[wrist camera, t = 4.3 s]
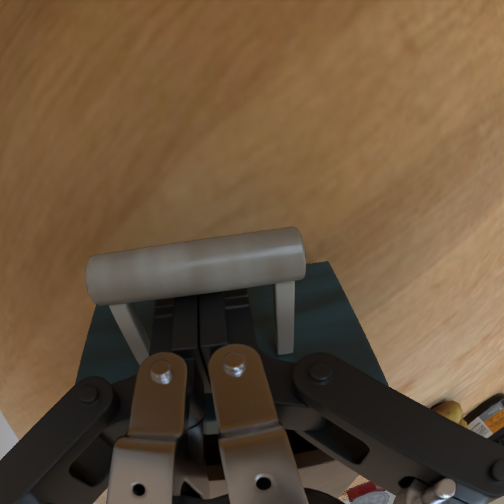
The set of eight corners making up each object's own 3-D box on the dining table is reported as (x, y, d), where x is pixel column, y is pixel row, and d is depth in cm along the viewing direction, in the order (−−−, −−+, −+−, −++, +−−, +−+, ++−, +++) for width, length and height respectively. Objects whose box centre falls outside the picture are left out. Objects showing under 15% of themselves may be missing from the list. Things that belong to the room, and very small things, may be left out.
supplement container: (461, 415, 40) (487, 470, 31) (509, 383, 38) (537, 434, 29) (457, 429, 46) (478, 476, 36) (499, 402, 44) (522, 446, 35)
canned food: (343, 478, 65) (333, 511, 57) (365, 468, 59) (356, 505, 51) (378, 487, 63) (370, 519, 56) (401, 478, 57) (394, 513, 49)
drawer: (64, 203, 12) (-16, 330, 6) (333, 163, 13) (434, 272, 7) (168, 416, 23) (170, 501, 17) (312, 397, 23) (335, 480, 17)
